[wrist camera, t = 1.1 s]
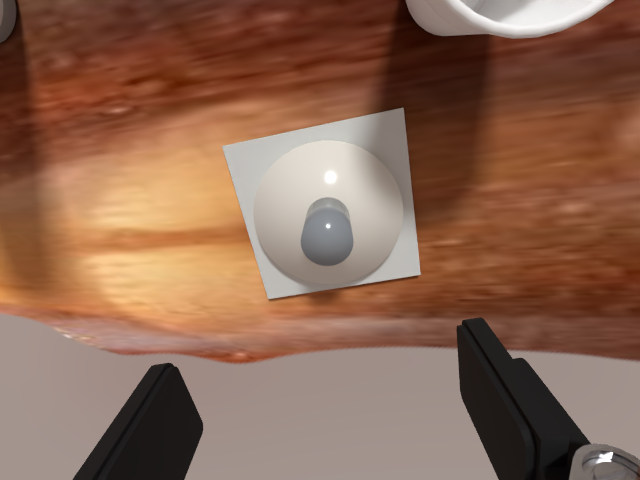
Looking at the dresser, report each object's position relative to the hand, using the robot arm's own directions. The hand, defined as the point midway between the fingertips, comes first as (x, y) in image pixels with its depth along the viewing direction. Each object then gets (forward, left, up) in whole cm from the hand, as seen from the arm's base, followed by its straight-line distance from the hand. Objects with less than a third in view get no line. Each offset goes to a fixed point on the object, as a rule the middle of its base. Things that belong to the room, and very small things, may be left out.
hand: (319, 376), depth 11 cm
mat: (0, 0, -18) cm, 18 cm away
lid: (0, 0, -18) cm, 18 cm away
